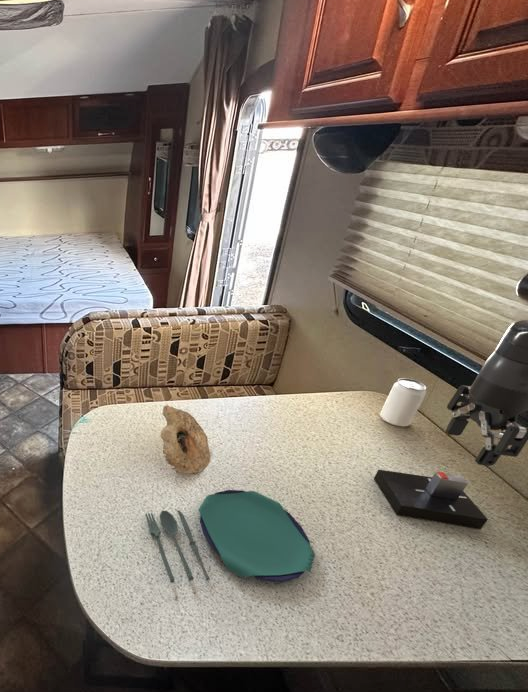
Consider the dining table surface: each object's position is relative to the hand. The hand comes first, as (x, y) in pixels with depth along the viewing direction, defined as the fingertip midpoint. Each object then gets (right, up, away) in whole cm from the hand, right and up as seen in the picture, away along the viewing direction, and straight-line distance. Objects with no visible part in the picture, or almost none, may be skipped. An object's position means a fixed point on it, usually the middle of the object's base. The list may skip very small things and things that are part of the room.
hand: (466, 448), depth 73 cm
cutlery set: (-46, -19, +2) cm, 50 cm away
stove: (-1, -14, +7) cm, 16 cm away
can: (+14, -1, +31) cm, 34 cm away
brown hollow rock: (-47, -8, +23) cm, 53 cm away
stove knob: (+1, -11, +5) cm, 12 cm away
